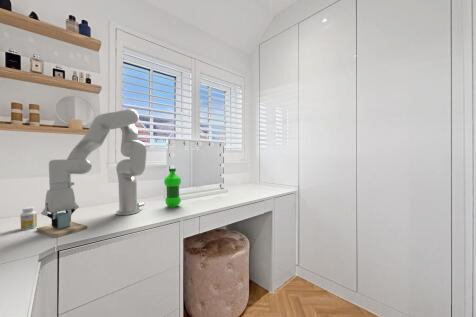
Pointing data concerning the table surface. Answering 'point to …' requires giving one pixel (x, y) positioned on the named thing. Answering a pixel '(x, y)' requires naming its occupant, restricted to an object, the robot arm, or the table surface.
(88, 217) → the table surface
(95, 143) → the robot arm
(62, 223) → the block
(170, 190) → the plastic bottle
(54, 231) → the board
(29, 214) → the supplement bottle
